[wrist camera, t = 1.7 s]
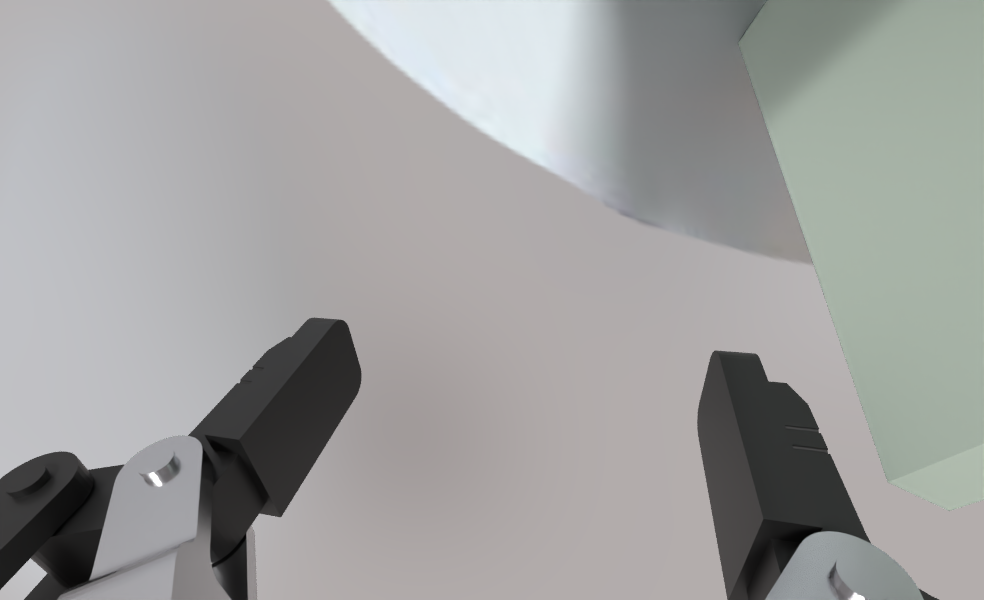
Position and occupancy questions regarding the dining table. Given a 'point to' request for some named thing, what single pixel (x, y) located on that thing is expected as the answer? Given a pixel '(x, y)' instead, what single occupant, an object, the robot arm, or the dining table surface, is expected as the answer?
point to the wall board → (891, 211)
